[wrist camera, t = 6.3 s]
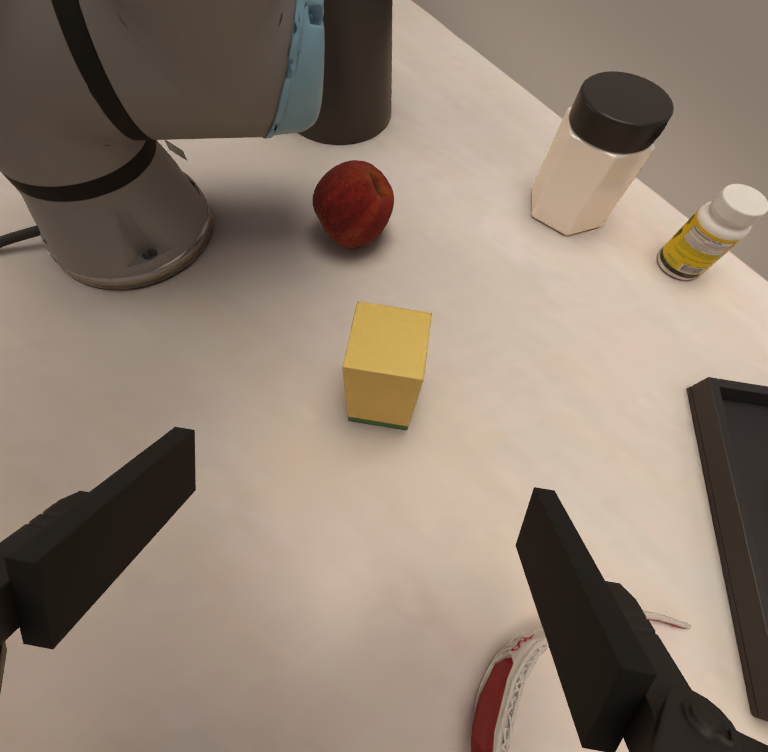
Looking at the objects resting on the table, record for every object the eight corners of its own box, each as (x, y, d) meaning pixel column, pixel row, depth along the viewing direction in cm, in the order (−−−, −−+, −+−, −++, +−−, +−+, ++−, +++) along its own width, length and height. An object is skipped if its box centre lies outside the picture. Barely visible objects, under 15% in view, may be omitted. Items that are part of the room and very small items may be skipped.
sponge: (348, 420, 33) (342, 366, 24) (359, 368, 35) (357, 300, 26) (407, 430, 33) (423, 380, 24) (414, 377, 35) (431, 312, 26)
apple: (379, 270, 40) (382, 205, 33) (306, 252, 41) (294, 184, 33) (397, 219, 43) (403, 150, 36) (330, 203, 44) (323, 132, 36)
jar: (603, 242, 43) (683, 135, 32) (529, 231, 43) (584, 120, 32) (597, 187, 47) (667, 75, 36) (529, 177, 47) (579, 62, 36)
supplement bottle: (677, 242, 44) (743, 174, 36) (710, 272, 42) (786, 207, 34) (646, 256, 42) (707, 189, 35) (678, 287, 41) (750, 225, 33)
